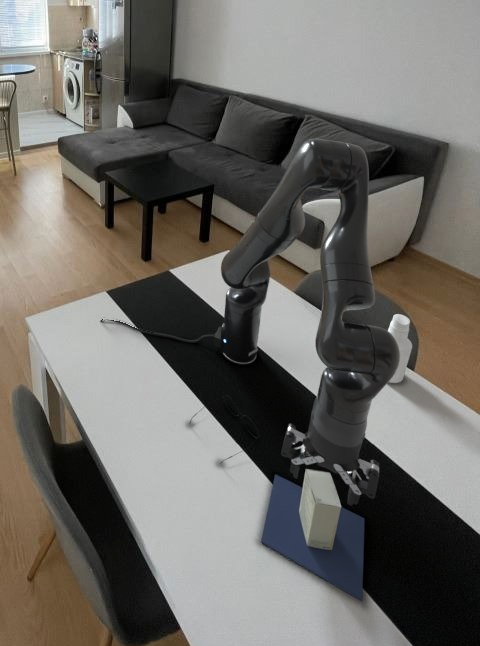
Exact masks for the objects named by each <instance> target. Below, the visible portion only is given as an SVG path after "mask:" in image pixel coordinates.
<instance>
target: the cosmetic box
mask: <svg viewBox="0 0 480 646" xmlns="http://www.w3.org/2000/svg"><path fill="white" fill-rule="evenodd" d="M303 478H304V479H303V483H302V488H303V490H302V496H301V502H300V508H299V513H300V518H301V523H302V527H303V531H304V535H305V539H306V543H307V546H310V547H315V548H320V549H326V550H332V548H333V543H334V538H335V533H336V529H337V524H338V519H339V515H340V510H341V507H342V505H341V500H340V498H339V495H338V491H337V488H336V485H335V482H334V479H333V477H332V475H331V472H328V471H323V470H316V469H311V468H310V469H309V468H305V472H304V477H303Z"/></svg>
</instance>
